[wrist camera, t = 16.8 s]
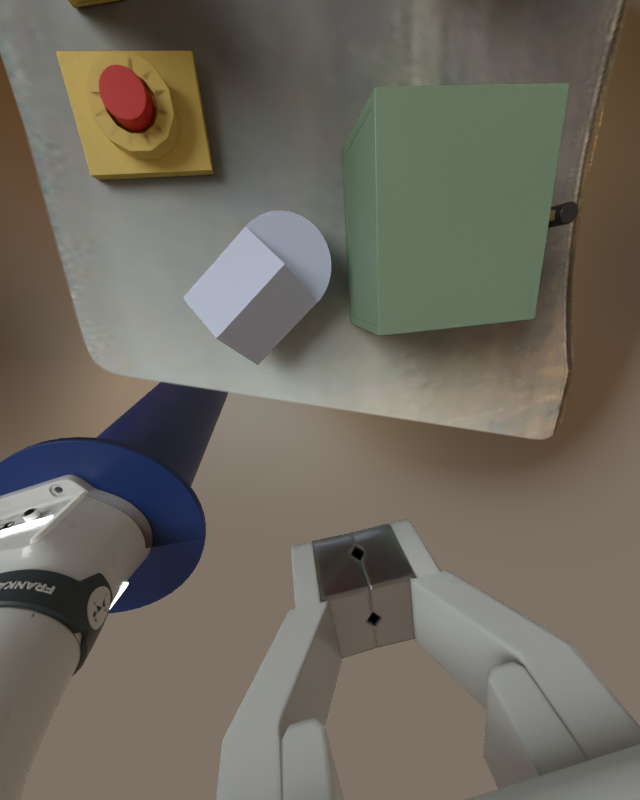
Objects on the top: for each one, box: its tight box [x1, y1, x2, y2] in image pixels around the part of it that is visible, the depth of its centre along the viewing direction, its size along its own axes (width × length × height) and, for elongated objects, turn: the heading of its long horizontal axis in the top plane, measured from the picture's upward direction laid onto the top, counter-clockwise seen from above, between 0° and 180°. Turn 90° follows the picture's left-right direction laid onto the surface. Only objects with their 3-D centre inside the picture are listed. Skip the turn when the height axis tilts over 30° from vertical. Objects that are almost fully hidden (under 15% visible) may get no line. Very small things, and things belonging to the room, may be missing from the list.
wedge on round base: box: [183, 211, 331, 365], centre depth 30 cm, size 9×7×13 cm
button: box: [99, 65, 154, 131], centre depth 24 cm, size 3×3×2 cm
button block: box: [56, 51, 214, 180], centre depth 26 cm, size 10×8×3 cm
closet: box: [342, 83, 569, 336], centre depth 29 cm, size 14×16×10 cm
